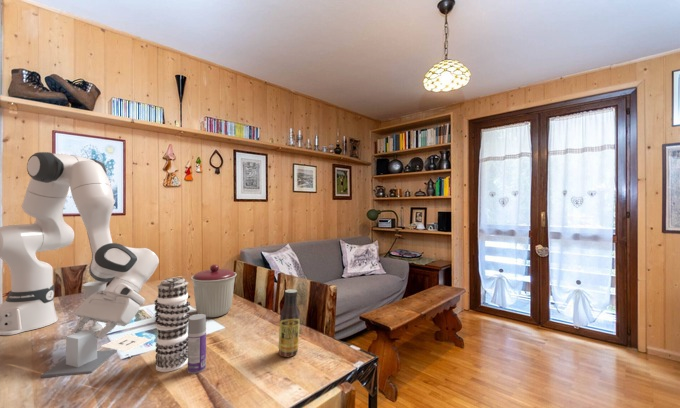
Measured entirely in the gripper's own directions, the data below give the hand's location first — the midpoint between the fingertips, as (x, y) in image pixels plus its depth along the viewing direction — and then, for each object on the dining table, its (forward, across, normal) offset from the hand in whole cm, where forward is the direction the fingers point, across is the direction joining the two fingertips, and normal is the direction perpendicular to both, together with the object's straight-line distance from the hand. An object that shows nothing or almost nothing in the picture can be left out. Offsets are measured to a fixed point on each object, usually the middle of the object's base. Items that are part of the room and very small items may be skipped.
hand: (86, 335), depth 87 cm
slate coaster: (+6, 0, +5) cm, 8 cm away
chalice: (-5, -19, +16) cm, 25 cm away
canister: (-25, +9, +36) cm, 45 cm away
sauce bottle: (-11, +55, +22) cm, 60 cm away
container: (0, +34, +11) cm, 36 cm away
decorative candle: (+1, +25, +11) cm, 27 cm away
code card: (-3, 0, +14) cm, 15 cm away
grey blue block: (+6, 0, +4) cm, 7 cm away
